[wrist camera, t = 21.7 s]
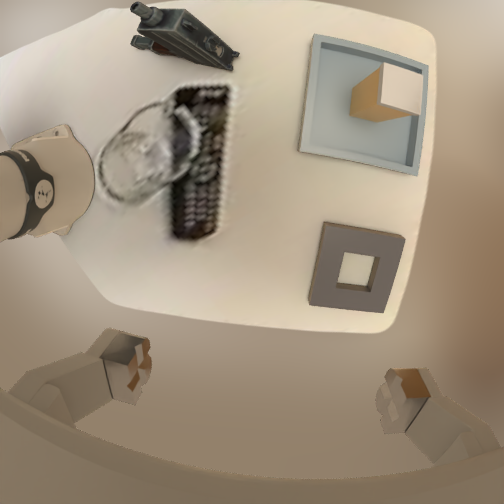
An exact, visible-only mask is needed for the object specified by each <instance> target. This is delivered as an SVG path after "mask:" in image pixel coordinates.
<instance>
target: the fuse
mask: <svg viewBox="0 0 504 504" xmlns="http://www.w3.org/2000/svg"><path fill="white" fill-rule="evenodd" d="M422 91H423V75H421V74H418V73H415V72H413V71H410V70H407V69H404V68H401V67H398V66H395V65H391V64H388V63H385V62H384V63H382V64H381V65H380V67H379V68H378V69H377V70H375V71H374V72H373V73H371V74H370V75H369V76H367V77H366V78H365V79H364V80H362V81H361V82H360V83H358V84H357V85H356V86H354V87H353V88H352V96H351V105H350V114H349V116H352V117H356V118H361V119H365V120H369V121H373V122H377V123H378V122H382V121H387V120H391V119H396V118H401V117H406V116H410V115H414V116H418V115H421V105H422Z"/></svg>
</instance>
